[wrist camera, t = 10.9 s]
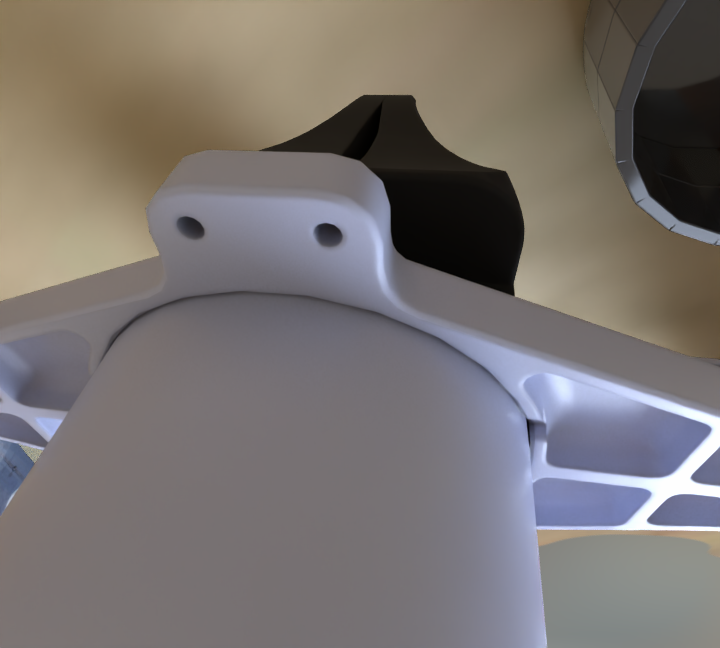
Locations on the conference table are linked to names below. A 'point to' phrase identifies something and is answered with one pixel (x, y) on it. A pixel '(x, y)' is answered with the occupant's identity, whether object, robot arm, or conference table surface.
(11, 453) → the vhs cassette tape
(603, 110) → the pot
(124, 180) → the conference table surface
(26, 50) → the conference table surface
